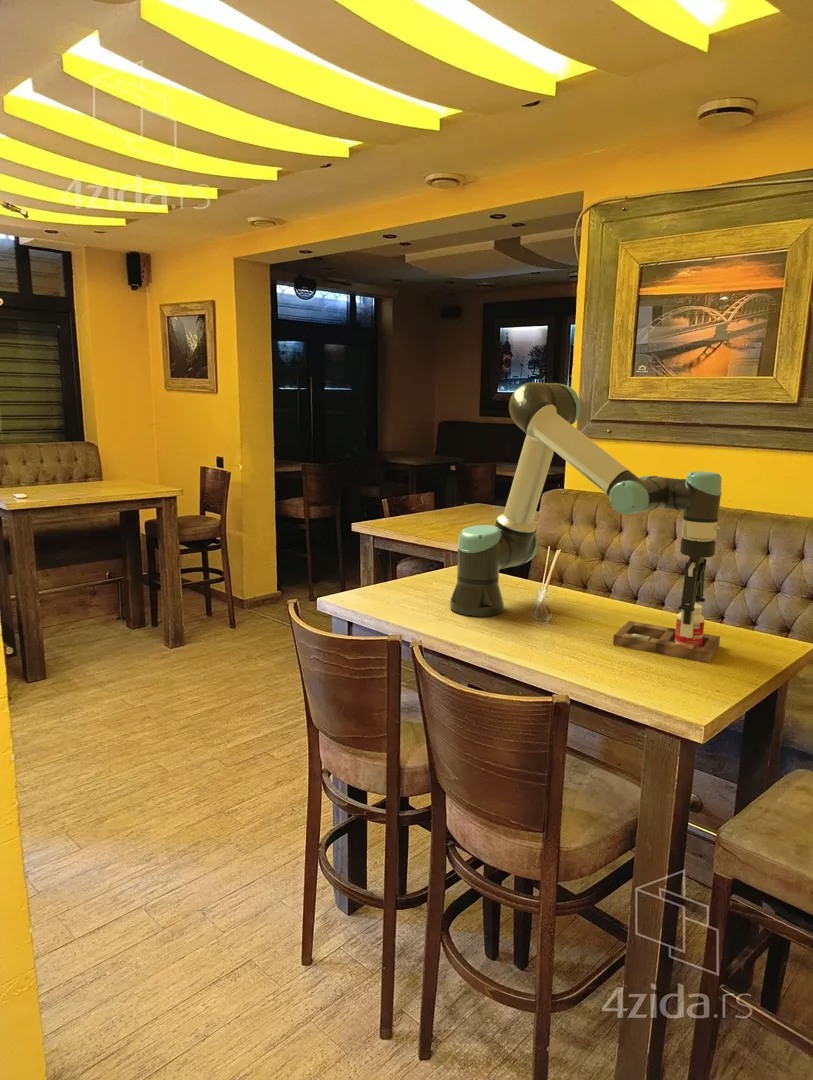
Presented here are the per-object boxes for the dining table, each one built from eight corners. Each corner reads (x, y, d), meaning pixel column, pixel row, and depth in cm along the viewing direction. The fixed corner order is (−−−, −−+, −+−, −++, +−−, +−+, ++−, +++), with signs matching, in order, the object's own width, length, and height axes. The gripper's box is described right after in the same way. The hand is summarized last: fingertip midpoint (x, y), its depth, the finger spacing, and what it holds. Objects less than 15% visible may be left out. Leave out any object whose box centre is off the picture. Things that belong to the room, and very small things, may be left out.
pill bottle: (685, 654, 165) (689, 609, 163) (668, 646, 171) (672, 602, 169) (707, 652, 167) (711, 607, 165) (689, 644, 173) (693, 601, 171)
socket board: (613, 644, 171) (613, 633, 171) (628, 629, 183) (629, 619, 182) (709, 663, 160) (710, 651, 159) (719, 646, 172) (720, 634, 171)
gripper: (708, 547, 153) (698, 646, 158) (722, 533, 170) (713, 624, 175) (672, 543, 157) (663, 640, 162) (689, 530, 174) (681, 618, 178)
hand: (689, 631), depth 168 cm, fingers open, 7 cm apart
